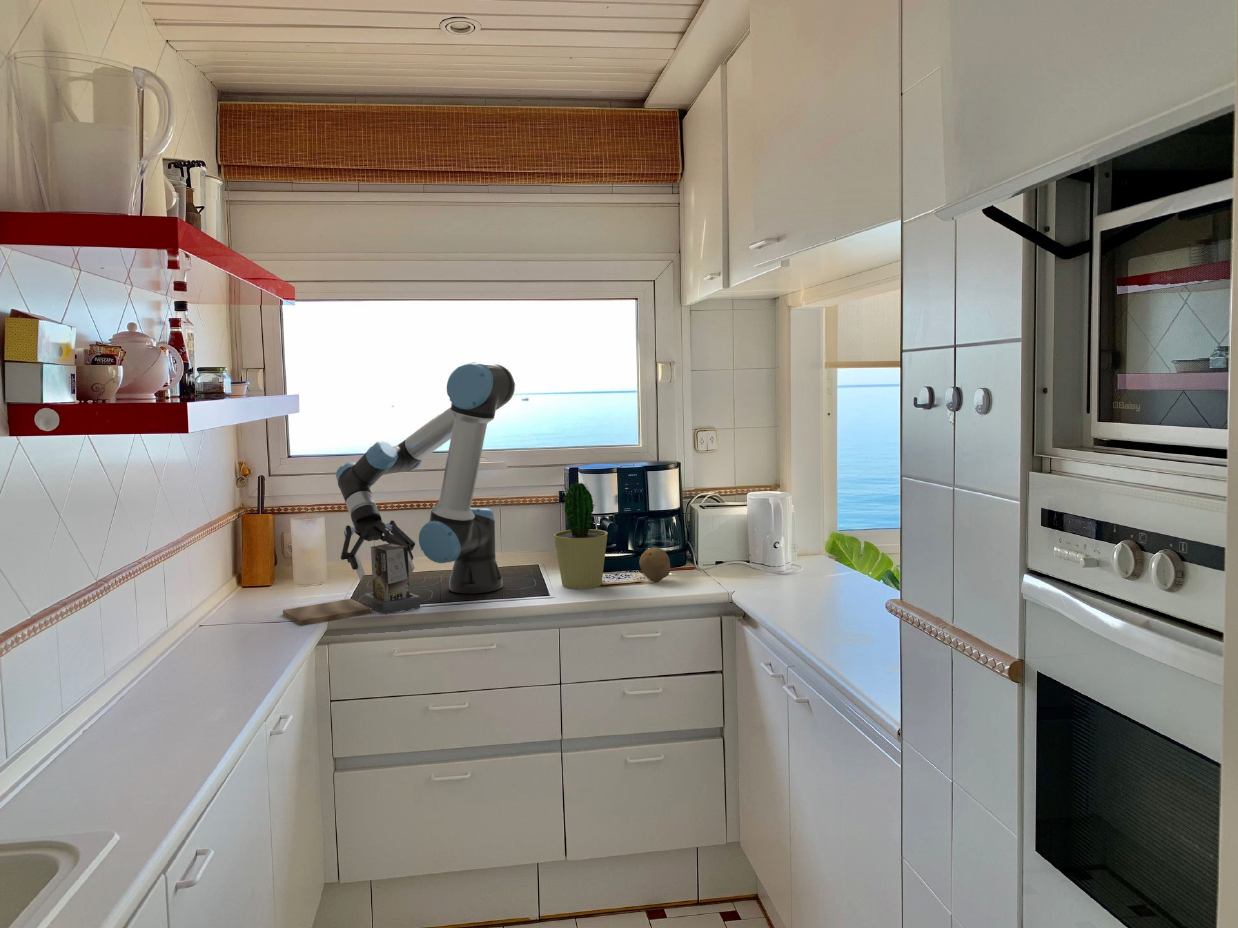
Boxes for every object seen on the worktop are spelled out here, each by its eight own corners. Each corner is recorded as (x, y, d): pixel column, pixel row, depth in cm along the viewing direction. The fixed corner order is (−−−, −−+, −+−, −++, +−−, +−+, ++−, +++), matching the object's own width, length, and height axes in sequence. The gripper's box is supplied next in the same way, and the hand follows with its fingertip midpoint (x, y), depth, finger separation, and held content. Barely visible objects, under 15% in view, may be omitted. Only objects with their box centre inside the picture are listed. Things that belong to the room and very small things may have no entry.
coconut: (641, 577, 271) (640, 544, 270) (671, 577, 270) (670, 544, 269) (638, 584, 262) (638, 550, 261) (670, 584, 261) (669, 550, 260)
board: (351, 602, 248) (350, 598, 248) (371, 612, 237) (370, 608, 237) (282, 614, 238) (282, 609, 238) (300, 625, 227) (300, 620, 226)
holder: (399, 598, 252) (399, 587, 252) (420, 607, 242) (419, 596, 241) (364, 604, 246) (363, 593, 246) (383, 614, 236) (383, 602, 235)
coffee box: (411, 607, 243) (408, 546, 241) (389, 611, 238) (386, 549, 237) (394, 601, 249) (392, 542, 248) (372, 605, 245) (369, 545, 244)
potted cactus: (616, 587, 260) (614, 481, 257) (563, 592, 255) (560, 484, 252) (599, 576, 274) (596, 476, 271) (549, 581, 269) (545, 479, 266)
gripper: (403, 515, 264) (427, 575, 253) (315, 525, 249) (338, 589, 238) (409, 498, 259) (435, 559, 248) (321, 507, 244) (344, 572, 233)
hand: (387, 574), depth 243 cm, fingers open, 13 cm apart
